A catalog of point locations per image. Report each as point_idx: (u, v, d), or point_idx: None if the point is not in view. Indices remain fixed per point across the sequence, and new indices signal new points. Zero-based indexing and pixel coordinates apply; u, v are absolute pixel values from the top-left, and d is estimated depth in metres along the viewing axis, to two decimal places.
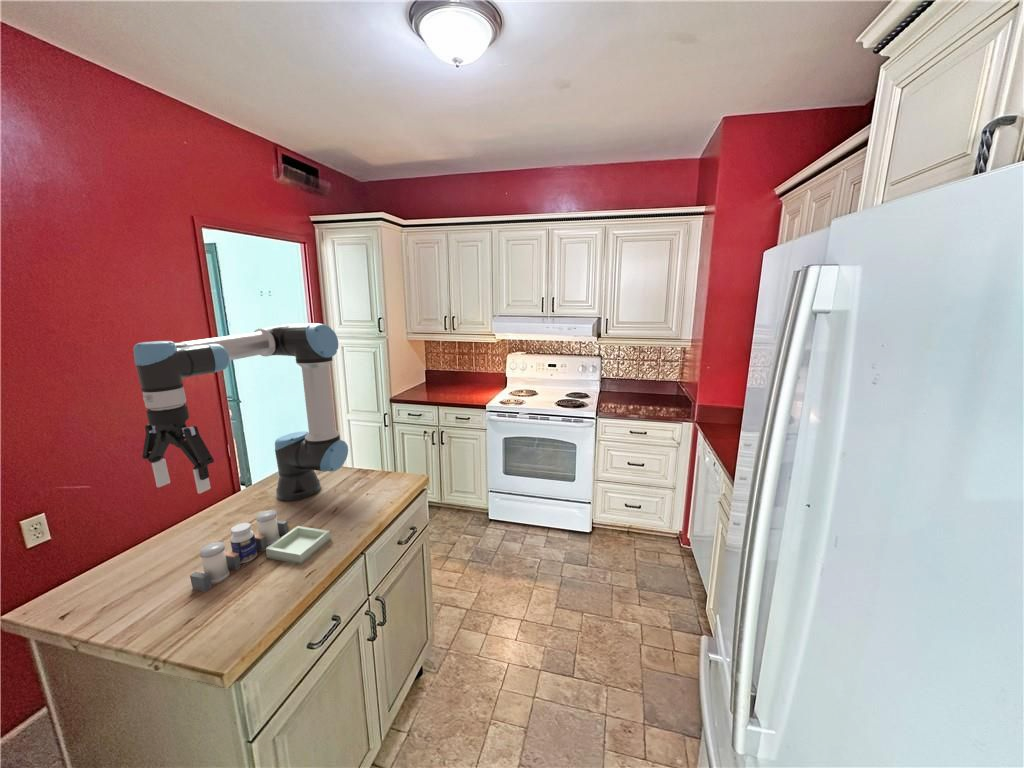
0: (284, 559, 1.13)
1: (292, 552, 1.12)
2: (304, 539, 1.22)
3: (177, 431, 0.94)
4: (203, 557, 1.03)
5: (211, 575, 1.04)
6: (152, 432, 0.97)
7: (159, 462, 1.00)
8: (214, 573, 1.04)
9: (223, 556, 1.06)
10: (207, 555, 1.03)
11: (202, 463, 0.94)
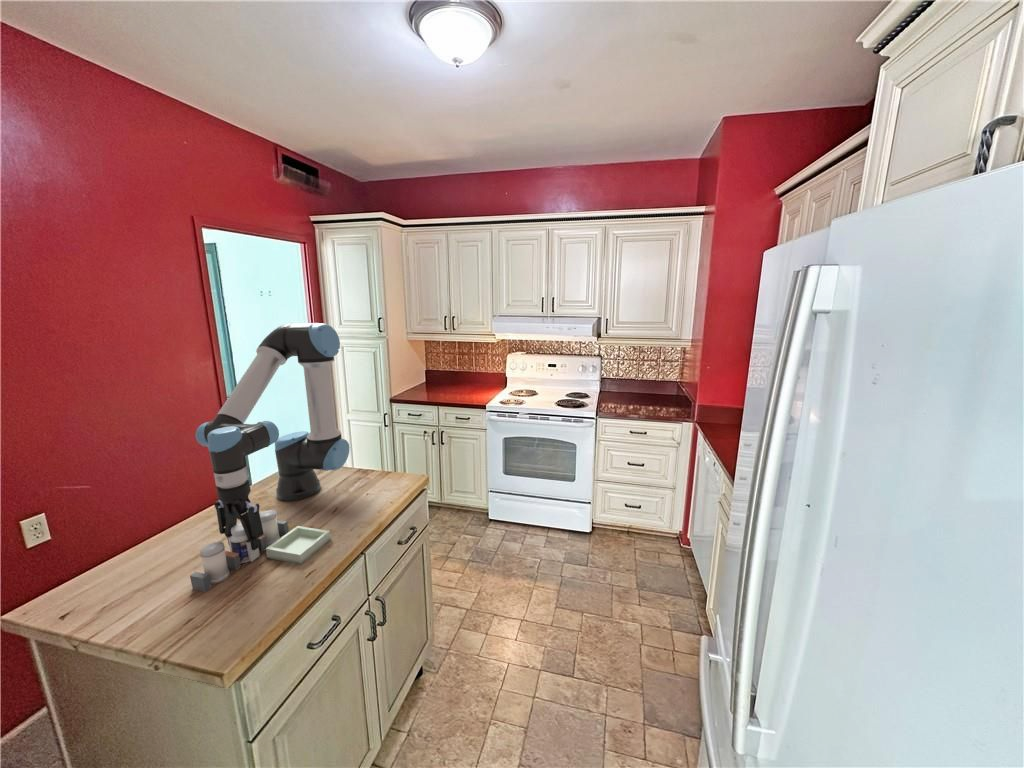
0: (284, 559, 1.13)
1: (292, 552, 1.12)
2: (304, 539, 1.22)
3: (242, 505, 1.09)
4: (203, 557, 1.03)
5: (211, 575, 1.04)
6: (221, 507, 1.12)
7: None
8: (214, 573, 1.04)
9: (223, 556, 1.06)
10: (207, 555, 1.03)
11: (255, 537, 1.10)
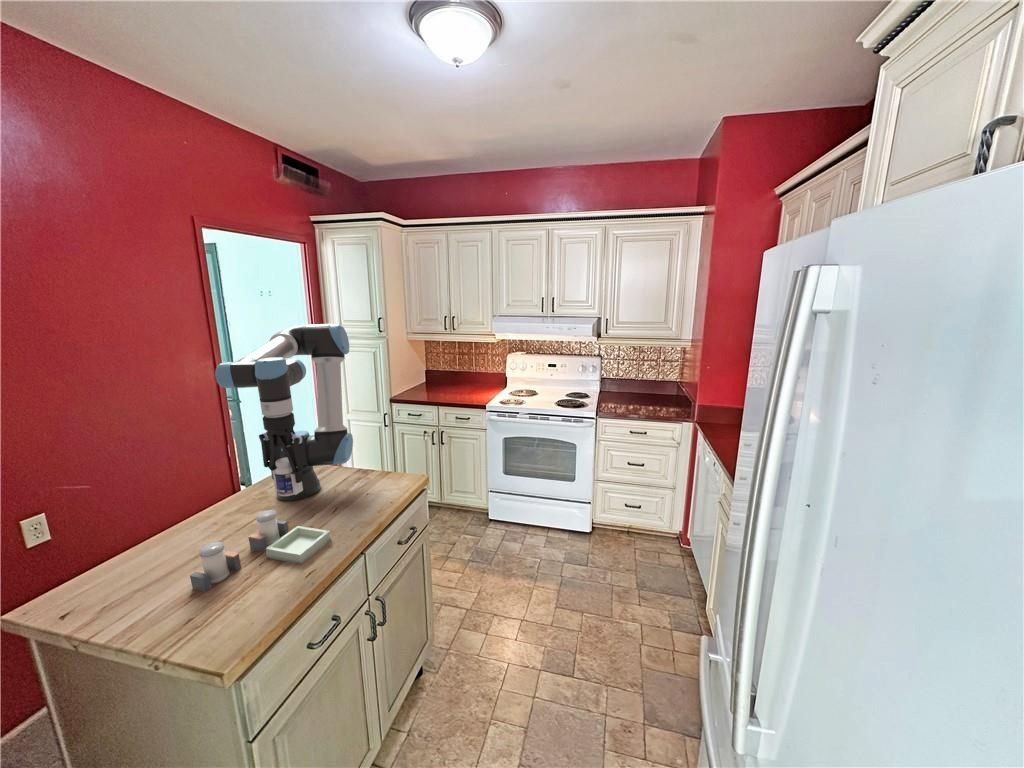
0: (284, 559, 1.13)
1: (292, 552, 1.12)
2: (304, 539, 1.22)
3: (288, 436, 1.09)
4: (202, 557, 1.03)
5: (211, 575, 1.04)
6: (265, 439, 1.12)
7: None
8: (214, 573, 1.04)
9: (222, 556, 1.06)
10: (206, 555, 1.03)
11: (300, 469, 1.10)
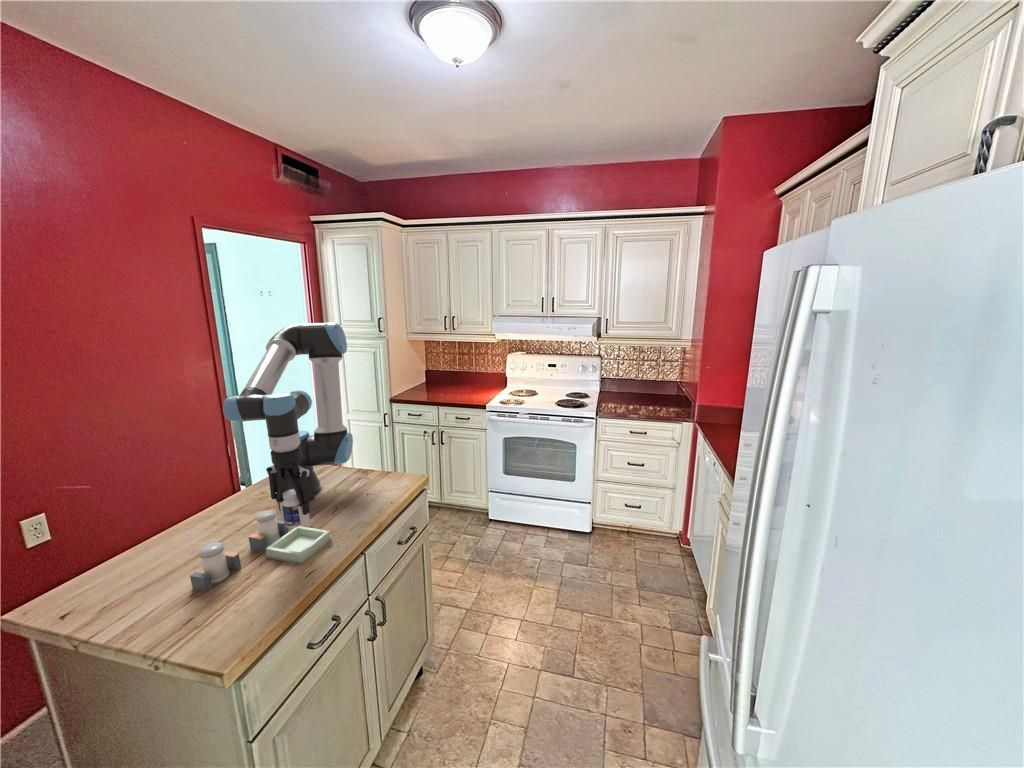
0: (284, 559, 1.13)
1: (292, 552, 1.12)
2: (304, 539, 1.22)
3: (295, 470, 1.11)
4: (202, 557, 1.03)
5: (210, 575, 1.04)
6: (273, 472, 1.14)
7: None
8: (213, 574, 1.04)
9: (222, 557, 1.05)
10: (206, 556, 1.02)
11: (307, 501, 1.12)
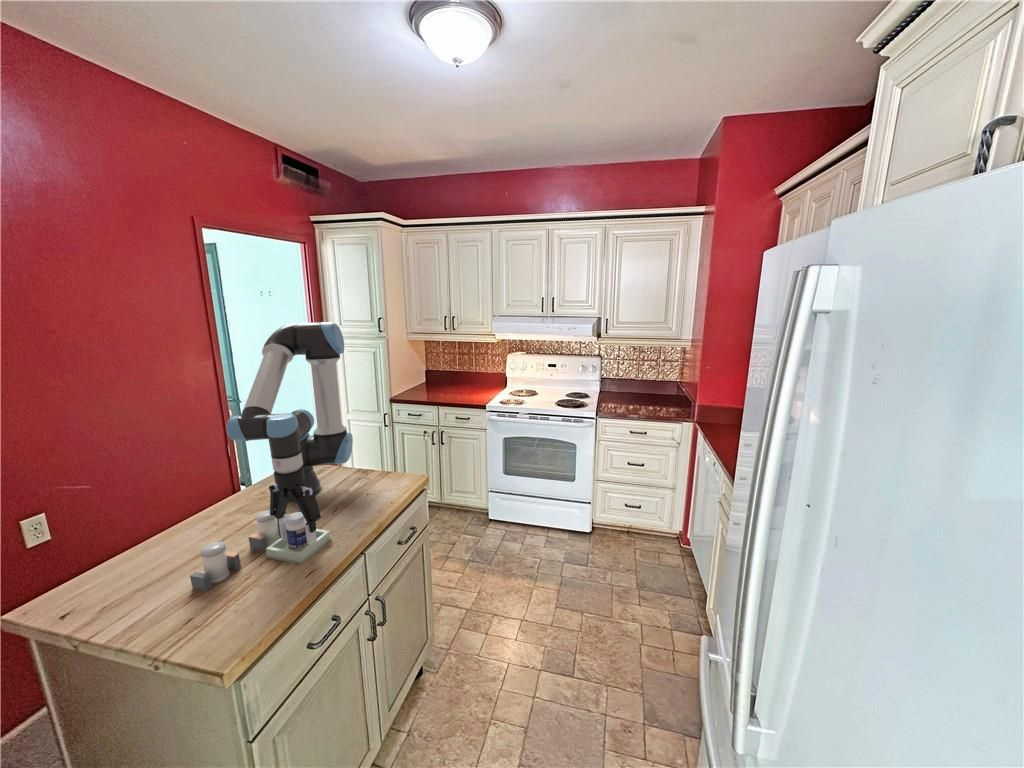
0: (284, 559, 1.13)
1: (292, 552, 1.12)
2: None
3: (298, 490, 1.13)
4: (203, 556, 1.03)
5: (210, 575, 1.04)
6: (275, 491, 1.16)
7: (283, 518, 1.18)
8: (213, 574, 1.04)
9: (223, 556, 1.05)
10: (207, 555, 1.03)
11: (313, 520, 1.13)
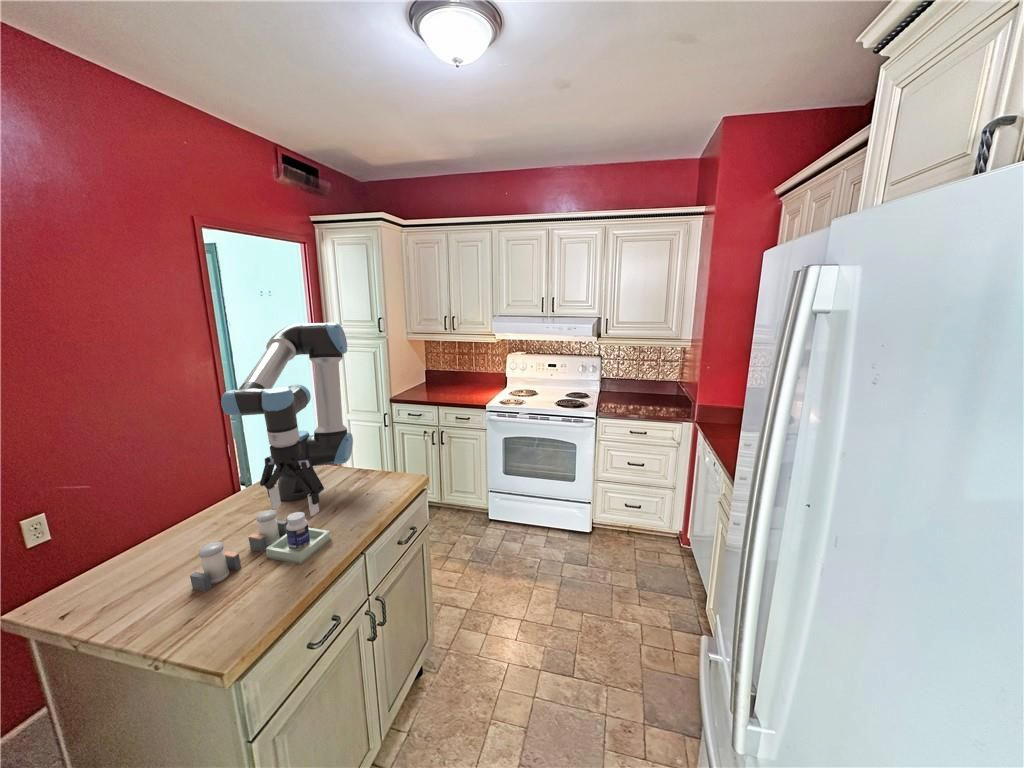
0: (284, 559, 1.13)
1: (292, 552, 1.12)
2: None
3: (295, 464, 1.11)
4: (201, 557, 1.03)
5: (209, 575, 1.04)
6: (270, 464, 1.14)
7: (274, 488, 1.17)
8: (212, 574, 1.04)
9: (221, 556, 1.05)
10: (204, 555, 1.02)
11: (316, 491, 1.11)
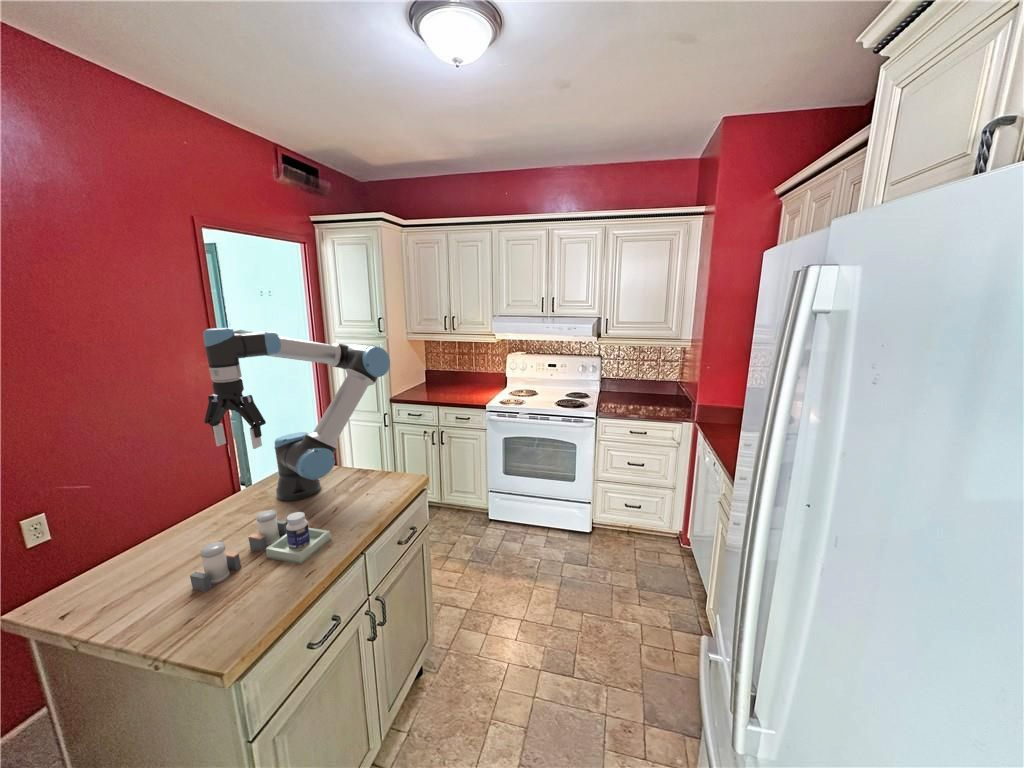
0: (284, 559, 1.13)
1: (292, 552, 1.12)
2: None
3: (236, 399, 1.19)
4: (202, 557, 1.03)
5: (210, 575, 1.04)
6: (214, 401, 1.22)
7: (218, 426, 1.24)
8: (212, 574, 1.04)
9: (222, 557, 1.05)
10: (206, 555, 1.02)
11: (258, 424, 1.20)
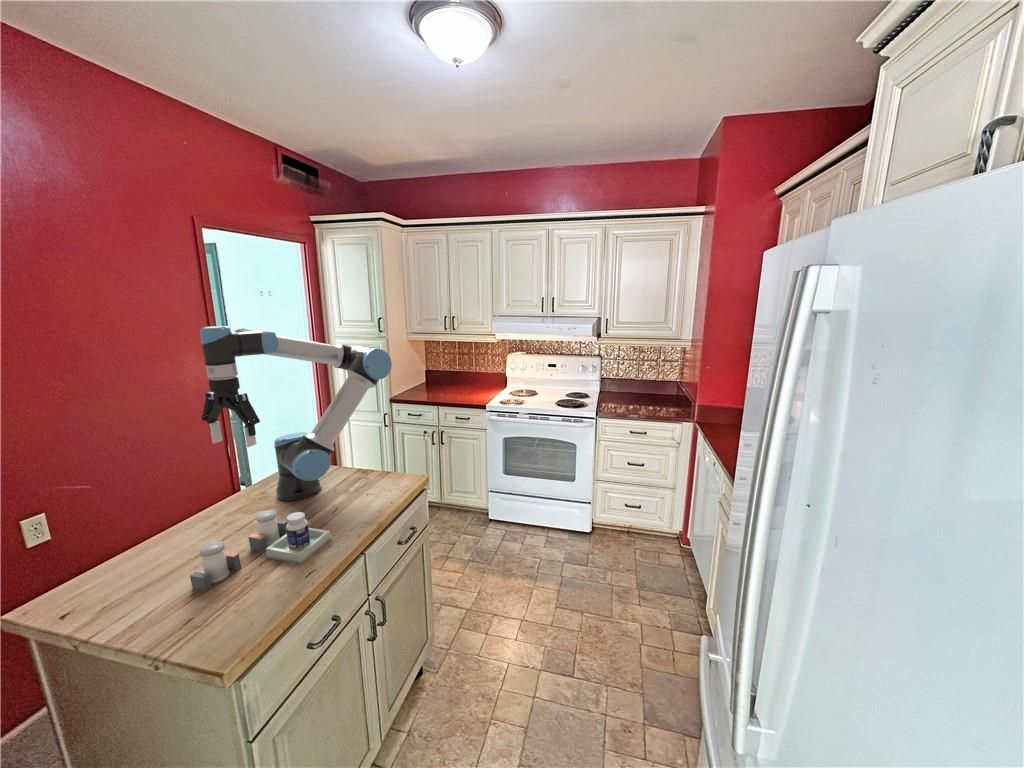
0: (284, 559, 1.13)
1: (292, 552, 1.12)
2: None
3: (232, 397, 1.20)
4: (202, 556, 1.03)
5: (209, 574, 1.04)
6: (210, 399, 1.23)
7: (215, 423, 1.25)
8: (212, 573, 1.04)
9: (221, 556, 1.05)
10: (204, 554, 1.03)
11: (251, 422, 1.20)
